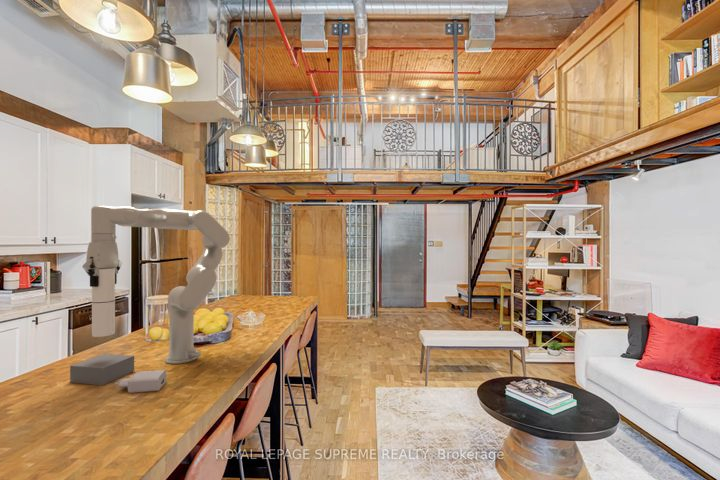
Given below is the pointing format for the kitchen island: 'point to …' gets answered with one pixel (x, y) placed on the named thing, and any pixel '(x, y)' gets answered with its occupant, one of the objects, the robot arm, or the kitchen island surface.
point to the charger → (144, 381)
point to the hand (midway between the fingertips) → (103, 284)
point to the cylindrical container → (104, 304)
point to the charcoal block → (101, 369)
